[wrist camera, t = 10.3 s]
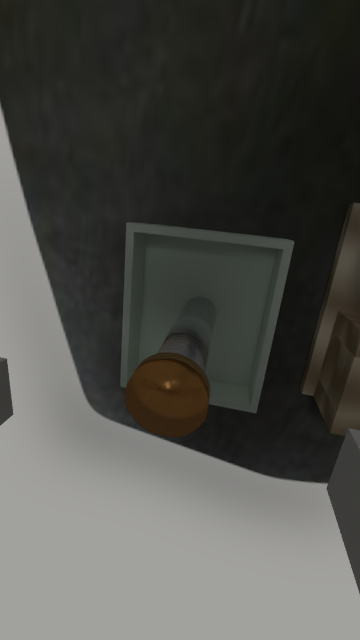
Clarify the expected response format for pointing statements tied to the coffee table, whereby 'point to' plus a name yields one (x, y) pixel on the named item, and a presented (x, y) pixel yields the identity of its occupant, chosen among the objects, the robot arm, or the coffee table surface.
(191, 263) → the tray
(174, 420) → the lock pin
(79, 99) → the coffee table surface
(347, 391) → the block
